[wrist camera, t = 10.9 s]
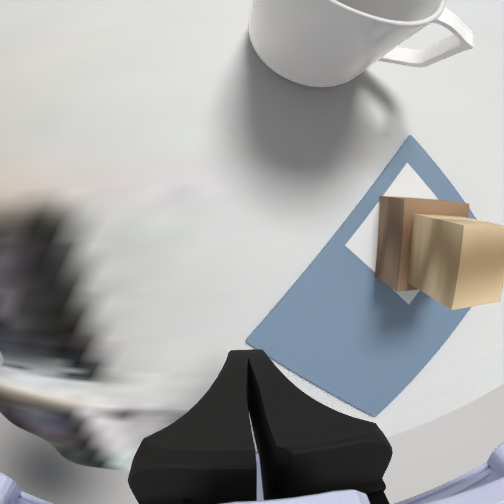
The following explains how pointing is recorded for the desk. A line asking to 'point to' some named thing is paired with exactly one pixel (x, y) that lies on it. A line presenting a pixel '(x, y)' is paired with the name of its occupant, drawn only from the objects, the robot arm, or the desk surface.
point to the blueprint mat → (362, 302)
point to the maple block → (457, 260)
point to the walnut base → (404, 234)
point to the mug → (347, 36)
